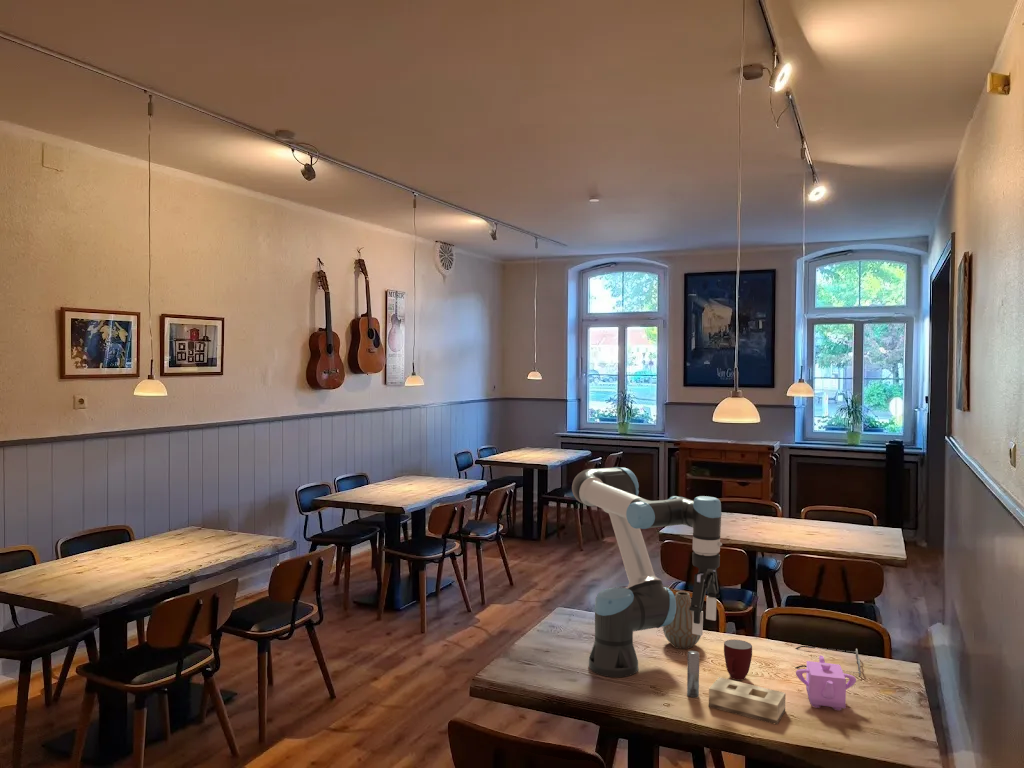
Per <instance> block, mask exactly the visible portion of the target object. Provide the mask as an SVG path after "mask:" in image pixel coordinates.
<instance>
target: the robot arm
mask: <svg viewBox="0 0 1024 768" xmlns="http://www.w3.org/2000/svg"><path fill="white" fill-rule="evenodd" d="M638 481H639V480H638V477H637V476H636V475H635V473H634V472H633V471H632V470H631V469H629V468H626V467H619V466H614V467H603V468H600V467H599V468H587V469H584V470H581V472H579V473H577V475H576V476H575V477H574V479H573V481H572V485H571V491H572V495H573V497H574V498H575V500H576V501H578V502H579V503H581V504H582V505H585V506H588V507H594V506H596V507H598V508H600V509H602V510H603V512H605V513H607V514H608V515H609V518H610V519H609V520H610V522H611V525H612V529H613V531H614V535H615V539H616V542H617V546H618V549H619V552H620V555H621V558H622V559H621V560H622V563H623V567H624V569H625V573H626V577H627V580H628V585H627V587H621V586H619V587H610V588H606V589H603V590H601V591H600V592H598V593H597V595H596V596H595V602H594V607H593V608H594V609H593V610H594V641H593V646H592V648H591V650H590V653H589V656H588V668H589V670H591V671H592V672H594V673H596V674H597V675H602V676H604V677H613V678H623V677H629V676H632V675H634V674H636V673H637V672H638V671H639V659H638V657H637V652H636V650H635V646H634V644H633V643H634V641H633V640H634V639H633V638H634V632H637V631H645V630H649V629H660V628H663V626H666V625H669V624H670V623H671V622H672V621H673V620H674V617H675V614H676V599H675V596H676V595H675V594H674V592H673V591H672V590H671V589H670V588H669V587H665V586H664V584H663V581H662V579H661V578H660V577H657V576H656V574H655V571H654V568H653V565H652V562H651V559H650V556H649V552H648V549H647V546H646V542H645V540H644V537H643V533H642V531H641V530H646V529H652V528H660V527H661V528H663V527H672V526H687V527H691V528H692V551H693V552H692V554H691V555H692V557H691V558H692V559H691V560H692V561H691V563H692V565H693V567H696V568H698V571H697V573H695V574H694V576H693V577H694V579H693V588H692V594H691V606H690V607H689V610H691V611H693V616H692V634H697V635H701V637H702V636H703V635H704V632H703V630H704V629H703V628H704V627H703V626H704V611H703V608H704V607H703V606H704V601H705V600H706V603H705V604H706V605H705V608H706V609H705V619H706V620H709V621H716V620H717V598H720V596H721V595H720V593H719V592H720V589H719V582H718V573H717V569H718V568H719V567H720V565H721V563H720V562H721V560H720V559H721V555H720V551H721V547H722V546H723V542H721V533H722V532H721V530H722V529H721V527H722V526H721V525H722V503H721V500H720V499H719V498H717V497H714V496H709V495H708V496H707V495H706V496H705V495H699V496H696V497H694V499H689V498H687V497H683V496H677V495H672V496H670V497H669V498H667V499H660V500H649V499H646V498H643V497H640V496H639V492H640V491H639V487H640V484H639V482H638ZM706 595H707V596H706ZM705 598H706V599H705ZM695 606H696V607H695Z"/></svg>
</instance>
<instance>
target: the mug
mask: <svg viewBox="0 0 1024 768" xmlns="http://www.w3.org/2000/svg"><path fill="white" fill-rule="evenodd" d="M723 654H724V660H725V667H726V670H727V672H728V675H729V677H730V678H731V680H734V681H743V680H745V679H746V677H747V675H748V674H749V671H750V668H751V663H752V657H753V646H752V644H751V643H750V642H748V641H746V640H742V639H727V640H725V641H724V642H723Z"/></svg>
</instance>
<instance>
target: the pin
mask: <svg viewBox="0 0 1024 768" xmlns="http://www.w3.org/2000/svg"><path fill="white" fill-rule="evenodd" d="M686 667H687V669H686V670H687V671H686V673H687V676H686V677H687V679H686V681H687V683H686V695H687V697H689V698H692V699H694V698H695V699H696V698H697V699H698V698H699V697H700V695H699V694H700V652H699V651H696V650H688V651H687V666H686Z"/></svg>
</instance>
